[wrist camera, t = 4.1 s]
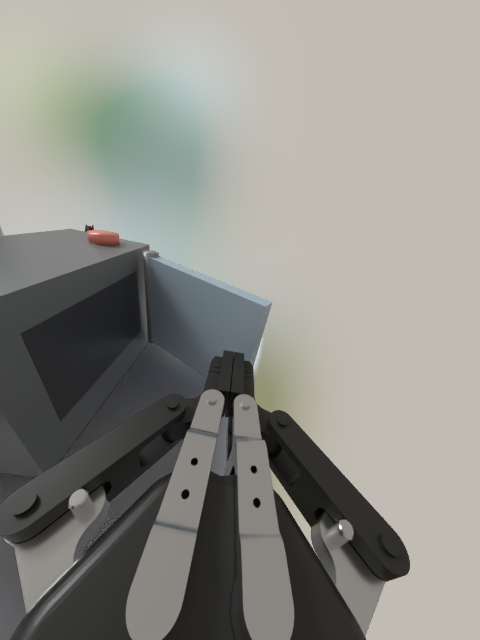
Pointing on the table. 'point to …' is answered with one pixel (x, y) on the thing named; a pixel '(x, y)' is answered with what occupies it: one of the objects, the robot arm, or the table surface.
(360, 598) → the robot arm
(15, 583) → the table surface
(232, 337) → the side door
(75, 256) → the grey box
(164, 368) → the table surface
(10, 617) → the table surface
